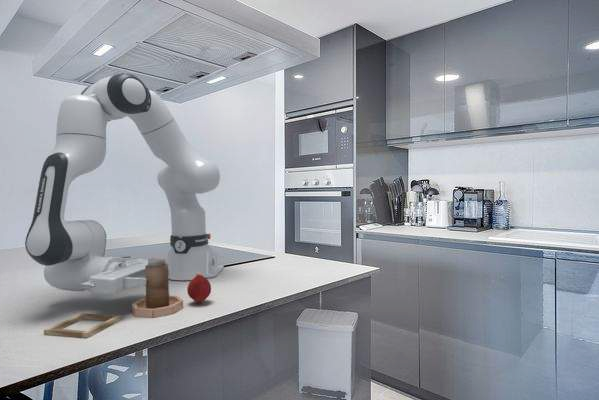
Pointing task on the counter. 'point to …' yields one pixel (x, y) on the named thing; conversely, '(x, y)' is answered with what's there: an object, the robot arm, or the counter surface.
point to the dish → (142, 311)
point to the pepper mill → (157, 283)
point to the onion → (199, 288)
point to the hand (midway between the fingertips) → (158, 276)
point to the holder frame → (58, 330)
